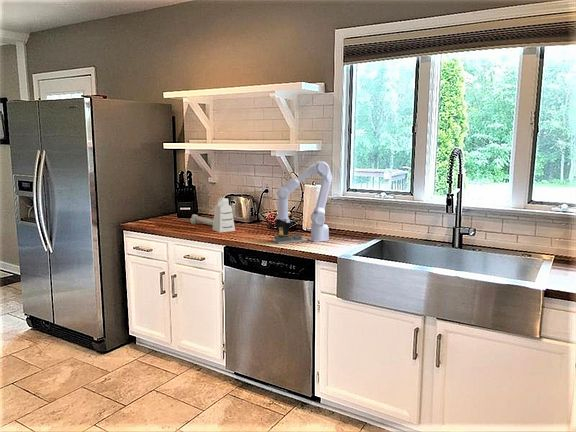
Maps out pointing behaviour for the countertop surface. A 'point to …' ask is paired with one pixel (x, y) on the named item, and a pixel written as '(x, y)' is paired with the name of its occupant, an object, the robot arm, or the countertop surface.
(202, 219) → the grey flared rod
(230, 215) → the grater
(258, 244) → the countertop surface
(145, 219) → the countertop surface
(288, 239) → the manifold plate
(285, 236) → the cylinder
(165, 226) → the countertop surface
